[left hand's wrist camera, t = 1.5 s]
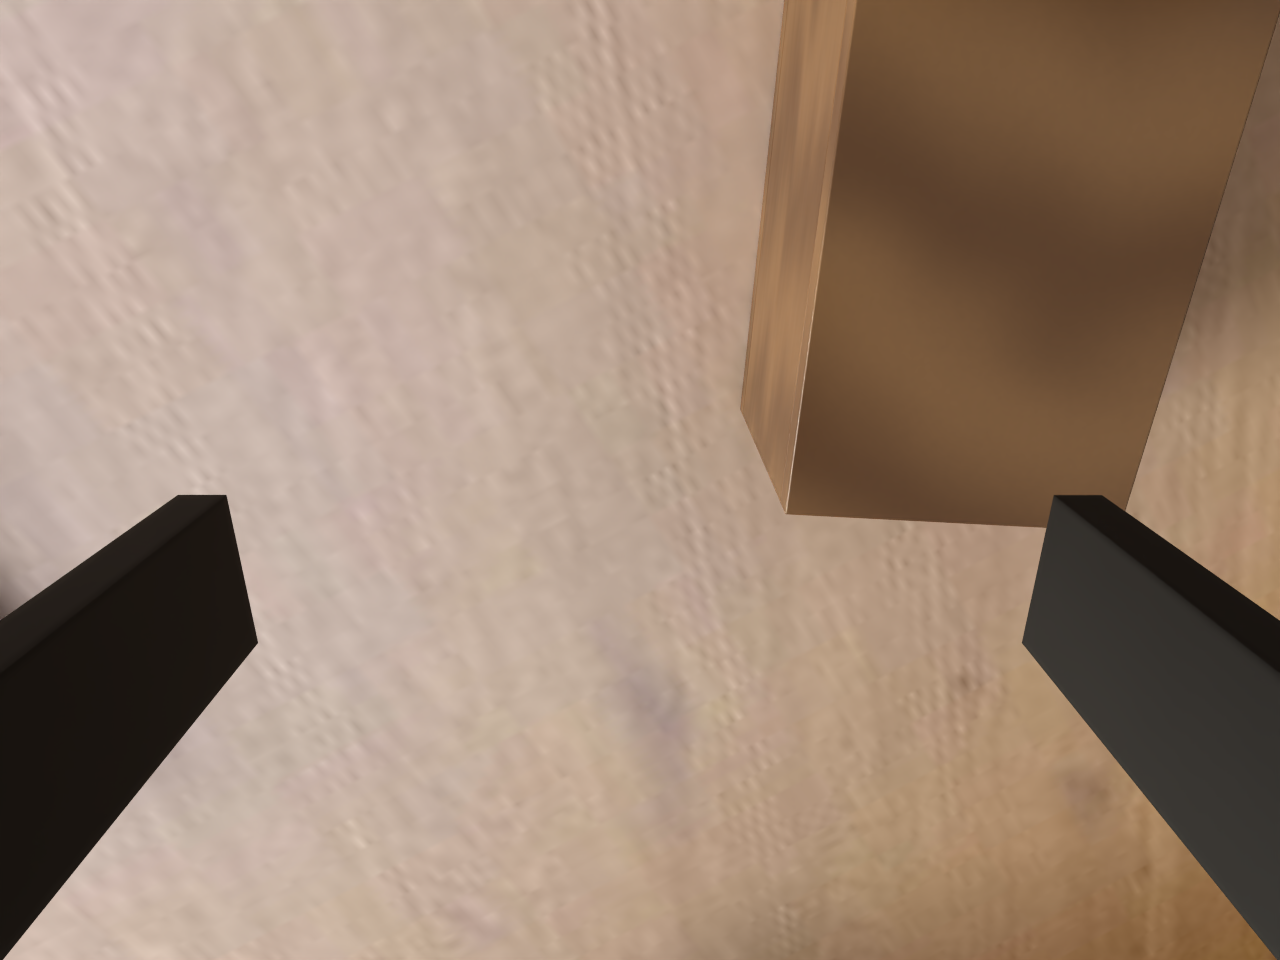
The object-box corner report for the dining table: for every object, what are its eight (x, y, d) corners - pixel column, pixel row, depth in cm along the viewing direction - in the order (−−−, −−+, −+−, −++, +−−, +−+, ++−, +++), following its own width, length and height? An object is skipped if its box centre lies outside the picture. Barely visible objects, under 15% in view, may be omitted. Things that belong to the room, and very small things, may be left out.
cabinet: (793, -87, 27) (889, -249, 17) (1081, -67, 28) (1351, -214, 17) (740, 409, 34) (785, 514, 24) (972, 422, 34) (1119, 532, 24)
